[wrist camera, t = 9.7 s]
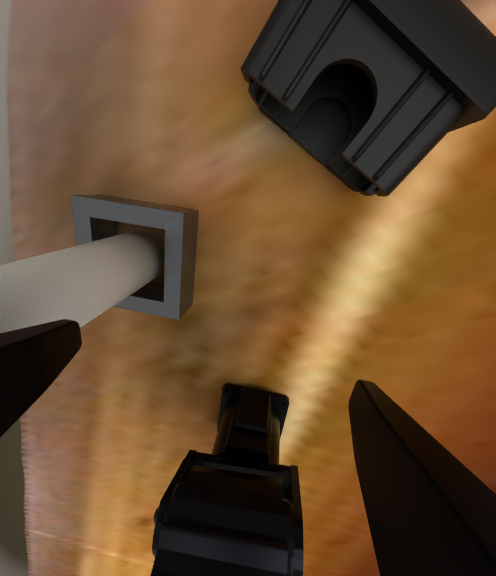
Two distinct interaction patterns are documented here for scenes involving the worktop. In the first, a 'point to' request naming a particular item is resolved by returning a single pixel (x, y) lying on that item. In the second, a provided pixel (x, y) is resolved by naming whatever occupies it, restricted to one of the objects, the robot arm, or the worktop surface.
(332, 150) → the end cap
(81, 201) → the square frame
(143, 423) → the worktop surface
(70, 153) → the worktop surface
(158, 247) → the white tapered peg
